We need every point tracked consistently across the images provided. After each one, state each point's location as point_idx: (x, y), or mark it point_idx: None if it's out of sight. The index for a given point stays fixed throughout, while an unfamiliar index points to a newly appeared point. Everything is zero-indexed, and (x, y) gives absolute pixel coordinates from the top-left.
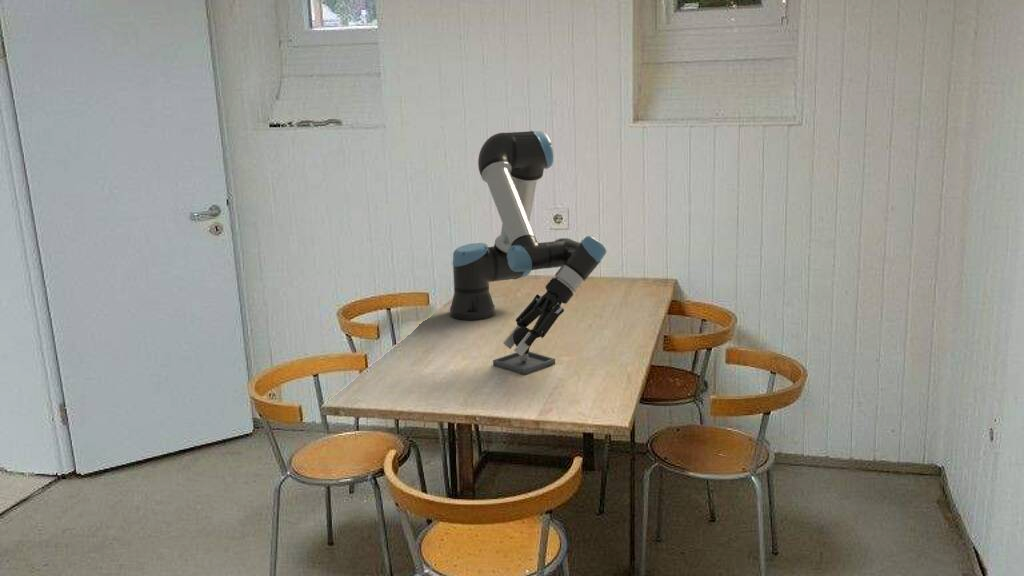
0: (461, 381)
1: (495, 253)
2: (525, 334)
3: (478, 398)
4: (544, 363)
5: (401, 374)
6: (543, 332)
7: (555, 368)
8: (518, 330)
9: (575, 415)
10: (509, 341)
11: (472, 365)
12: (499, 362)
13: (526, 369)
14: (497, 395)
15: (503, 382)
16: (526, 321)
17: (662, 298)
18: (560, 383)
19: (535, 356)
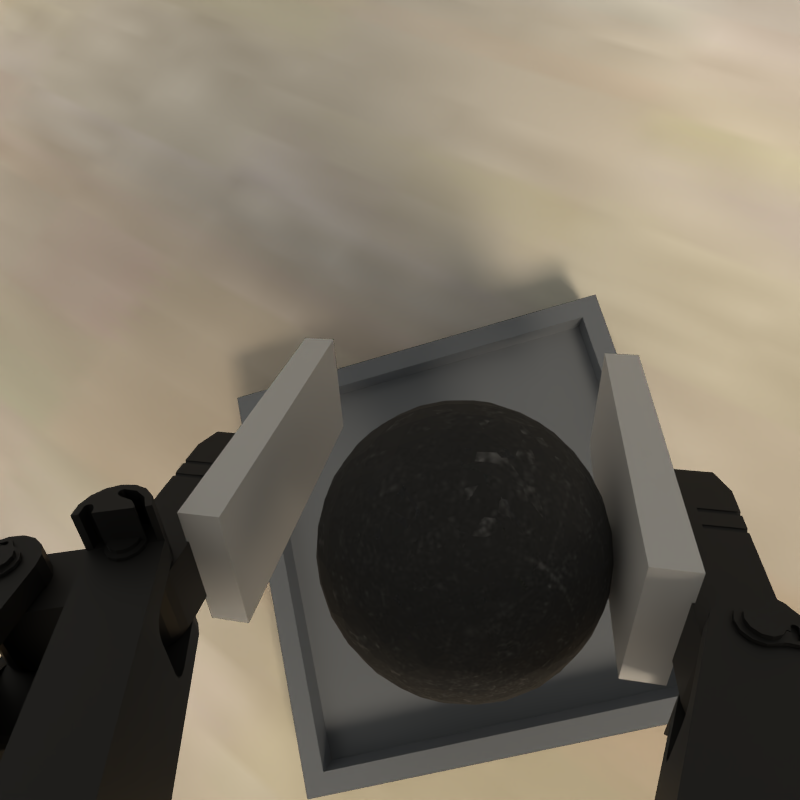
0: (397, 15)
1: None
2: (327, 508)
3: (104, 15)
4: (282, 639)
5: None
6: (25, 690)
7: (233, 704)
8: (439, 446)
9: None
10: (606, 422)
11: (676, 179)
12: (514, 318)
13: (242, 422)
14: (74, 111)
15: (223, 223)
16: (668, 787)
17: None
18: None
19: (541, 717)
